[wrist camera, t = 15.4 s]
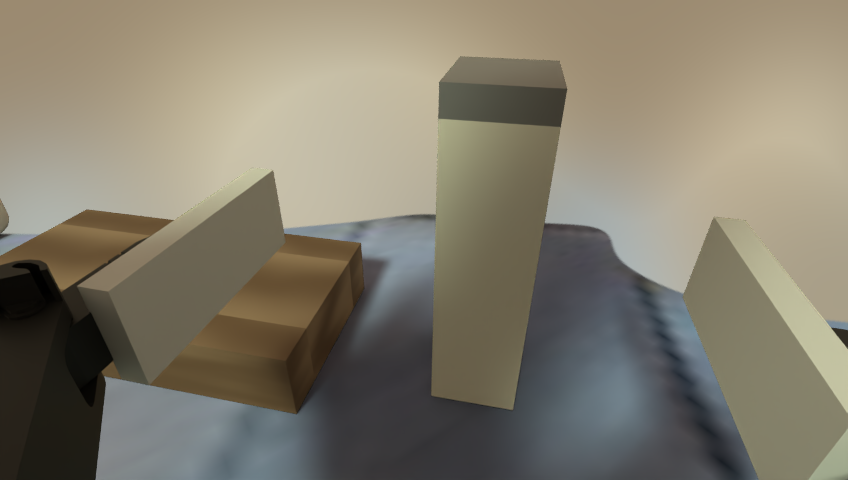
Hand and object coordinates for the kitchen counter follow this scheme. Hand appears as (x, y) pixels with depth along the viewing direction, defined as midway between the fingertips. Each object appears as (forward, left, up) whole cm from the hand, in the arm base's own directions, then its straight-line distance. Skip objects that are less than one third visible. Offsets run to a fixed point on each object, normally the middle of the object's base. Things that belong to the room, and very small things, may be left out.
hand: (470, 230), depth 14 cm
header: (+13, +13, -11) cm, 22 cm away
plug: (+4, -3, -11) cm, 12 cm away
